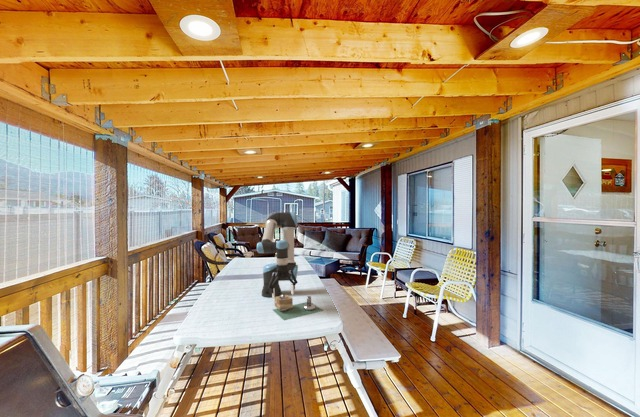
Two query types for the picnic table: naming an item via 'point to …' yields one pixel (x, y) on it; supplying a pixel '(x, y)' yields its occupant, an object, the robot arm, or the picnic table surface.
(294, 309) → the mat
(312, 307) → the hub
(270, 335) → the picnic table surface
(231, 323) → the picnic table surface
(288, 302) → the square wooden frame
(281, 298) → the stand
